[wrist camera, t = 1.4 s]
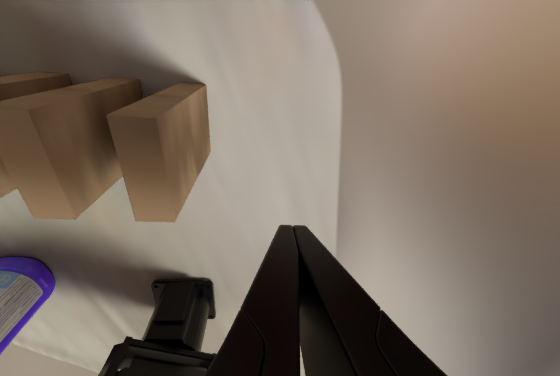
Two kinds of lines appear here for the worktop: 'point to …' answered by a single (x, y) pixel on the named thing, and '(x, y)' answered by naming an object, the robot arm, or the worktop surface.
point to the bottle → (21, 294)
